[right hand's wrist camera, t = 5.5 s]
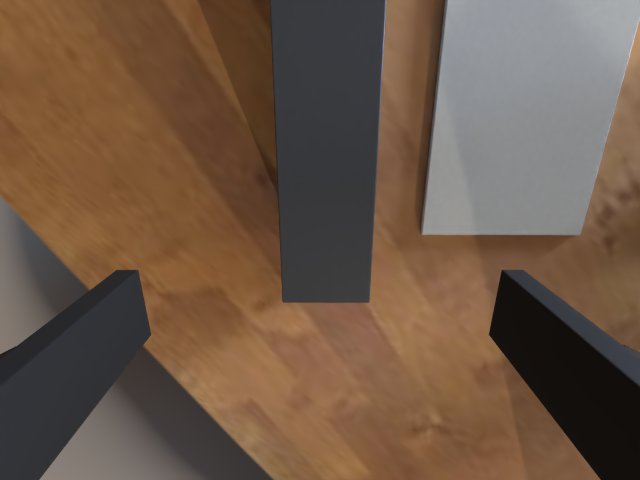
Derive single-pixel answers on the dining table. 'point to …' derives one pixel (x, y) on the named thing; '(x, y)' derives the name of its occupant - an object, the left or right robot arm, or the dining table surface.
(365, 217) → the beam
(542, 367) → the right robot arm
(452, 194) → the mat
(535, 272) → the dining table surface
